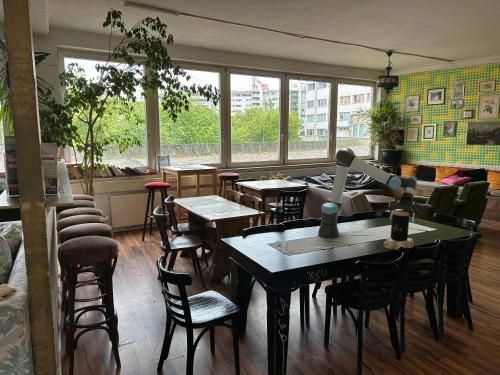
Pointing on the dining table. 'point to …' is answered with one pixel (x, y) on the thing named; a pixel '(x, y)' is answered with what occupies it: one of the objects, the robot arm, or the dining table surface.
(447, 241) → the dining table surface
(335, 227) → the robot arm
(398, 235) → the coffee jar
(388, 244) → the cream lumpy slab
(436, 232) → the dining table surface
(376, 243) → the dining table surface
